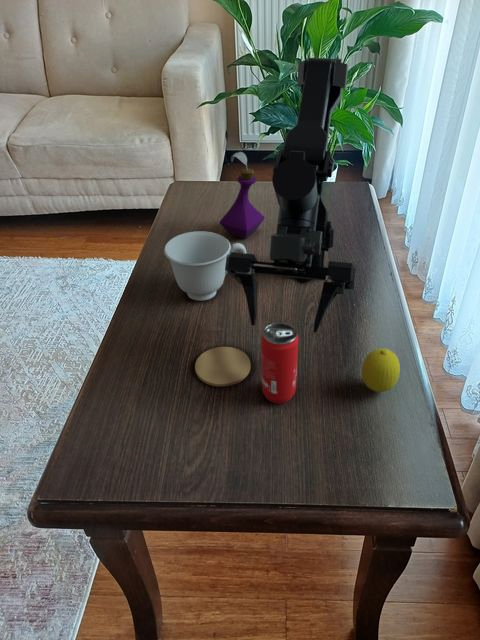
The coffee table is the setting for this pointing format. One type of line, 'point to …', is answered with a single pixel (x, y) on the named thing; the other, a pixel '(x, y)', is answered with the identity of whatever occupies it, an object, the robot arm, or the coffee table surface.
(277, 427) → the coffee table surface
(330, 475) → the coffee table surface
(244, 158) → the perfume bottle
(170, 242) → the teacup
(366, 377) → the lemon
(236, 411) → the coffee table surface
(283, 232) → the robot arm
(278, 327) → the beverage can
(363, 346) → the coffee table surface
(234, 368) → the trivet
